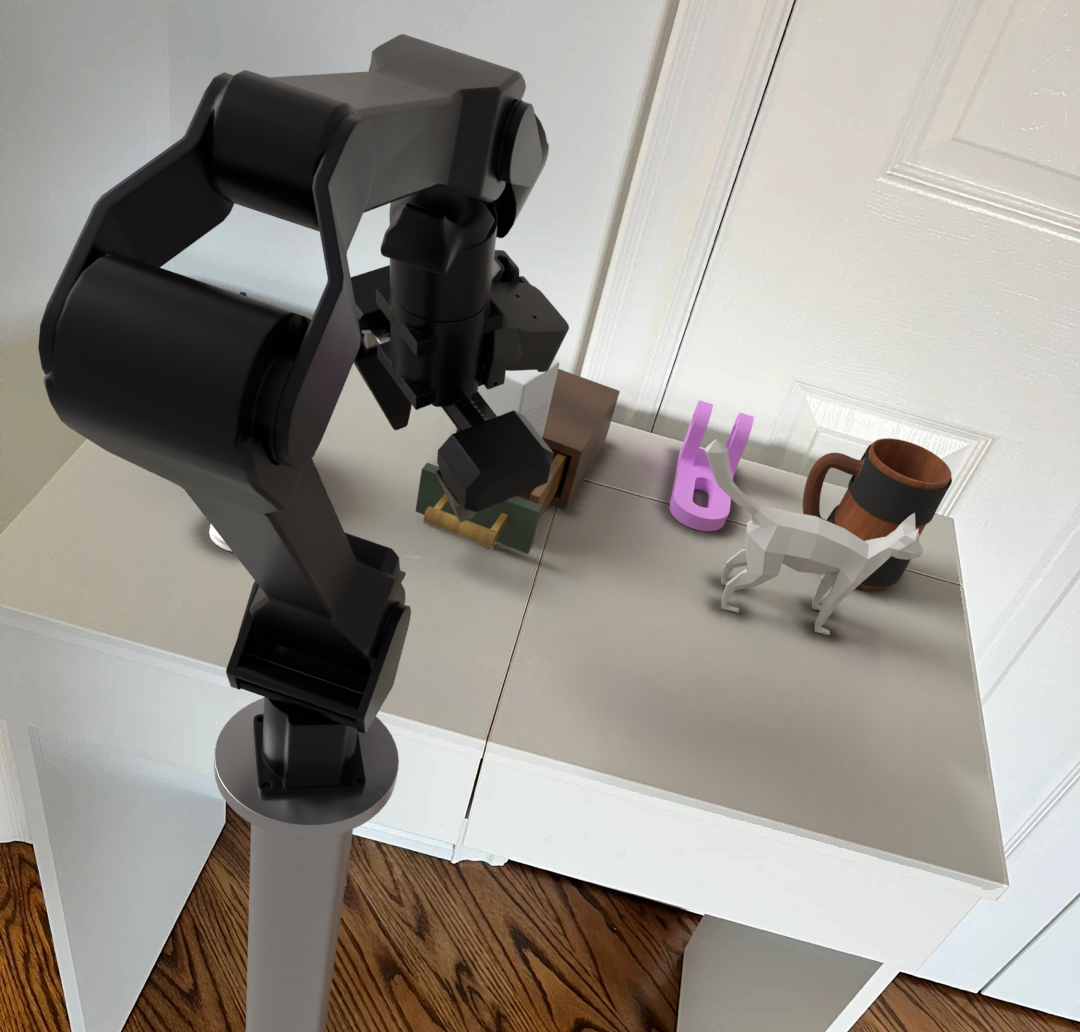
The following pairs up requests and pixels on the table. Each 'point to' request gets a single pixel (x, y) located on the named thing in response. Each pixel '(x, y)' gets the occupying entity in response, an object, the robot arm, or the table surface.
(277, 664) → the robot arm
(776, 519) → the cat figurine
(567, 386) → the cabinet
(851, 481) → the mug
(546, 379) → the cosmetic box
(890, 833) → the table surface
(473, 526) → the drawer
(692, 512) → the bracket
